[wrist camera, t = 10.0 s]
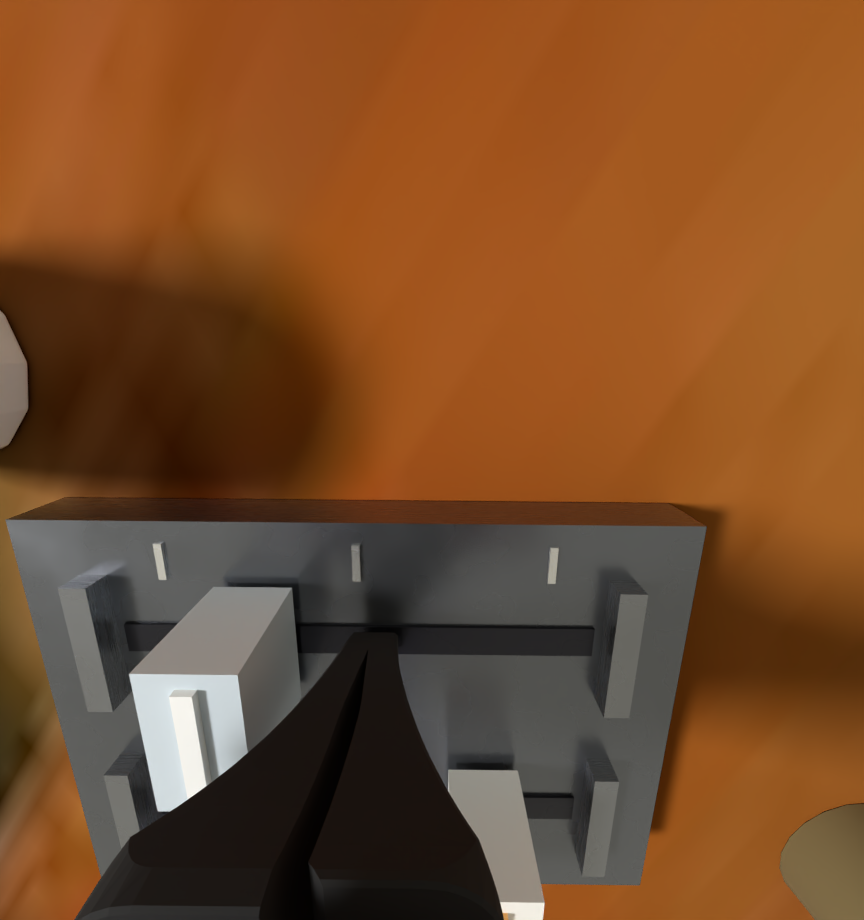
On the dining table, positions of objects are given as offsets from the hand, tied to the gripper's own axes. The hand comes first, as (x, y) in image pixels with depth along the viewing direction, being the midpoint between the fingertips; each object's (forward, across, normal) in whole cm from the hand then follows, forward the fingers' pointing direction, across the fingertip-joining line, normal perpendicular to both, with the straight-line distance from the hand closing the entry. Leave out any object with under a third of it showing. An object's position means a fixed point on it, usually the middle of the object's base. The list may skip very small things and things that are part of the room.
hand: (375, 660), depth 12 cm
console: (+3, +1, +4) cm, 5 cm away
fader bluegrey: (+1, +4, 0) cm, 4 cm away
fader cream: (+1, -3, +7) cm, 8 cm away
